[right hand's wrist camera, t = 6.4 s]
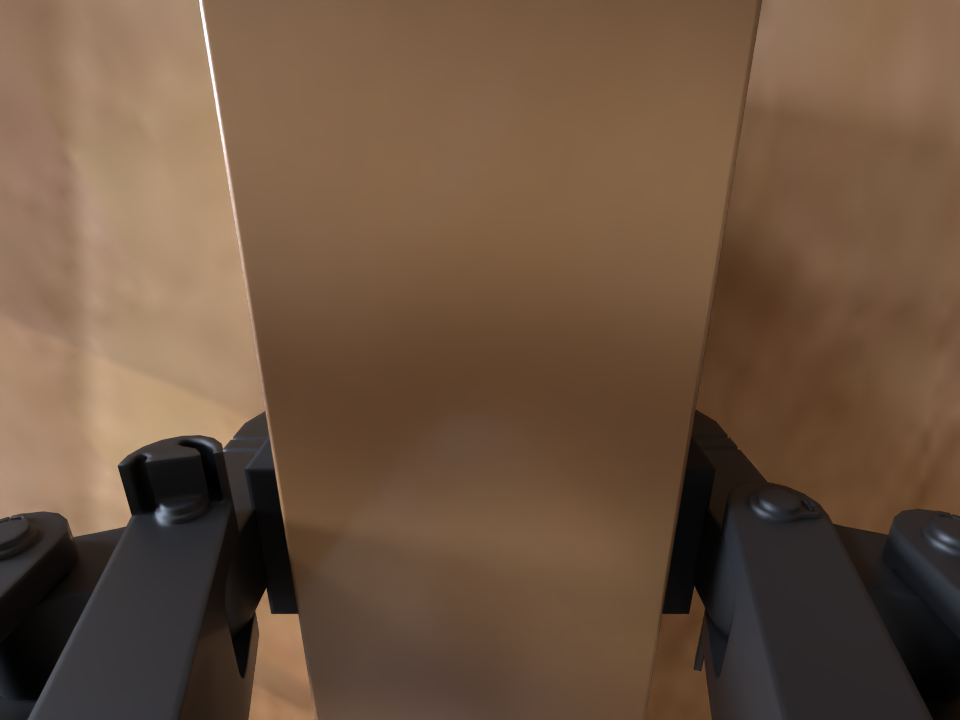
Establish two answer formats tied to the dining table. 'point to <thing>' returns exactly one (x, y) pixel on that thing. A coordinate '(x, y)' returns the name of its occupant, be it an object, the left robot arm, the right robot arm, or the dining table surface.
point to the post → (480, 328)
